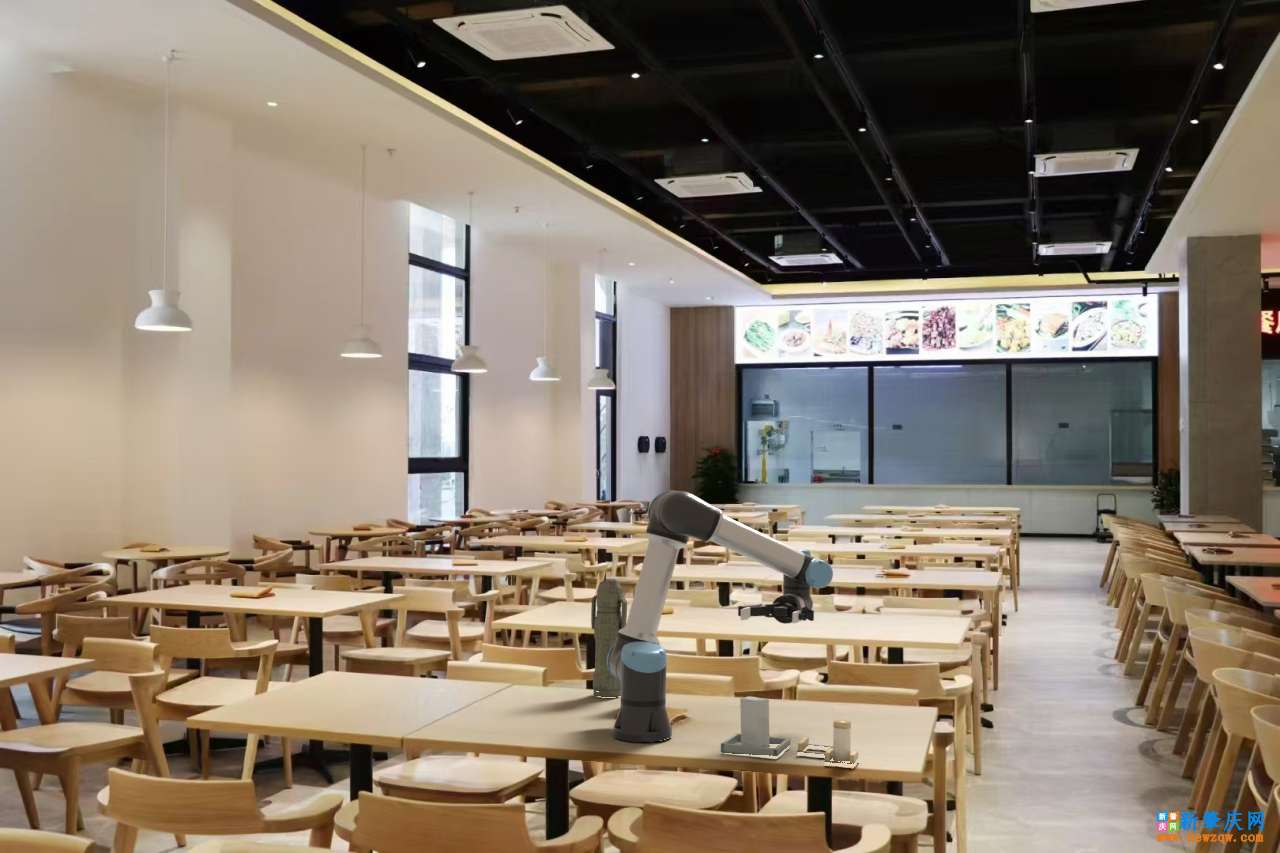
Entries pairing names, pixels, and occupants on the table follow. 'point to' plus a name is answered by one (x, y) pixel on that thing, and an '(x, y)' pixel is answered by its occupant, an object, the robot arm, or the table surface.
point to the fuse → (841, 740)
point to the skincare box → (754, 721)
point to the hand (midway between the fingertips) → (767, 616)
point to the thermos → (607, 634)
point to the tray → (735, 746)
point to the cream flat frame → (828, 753)
